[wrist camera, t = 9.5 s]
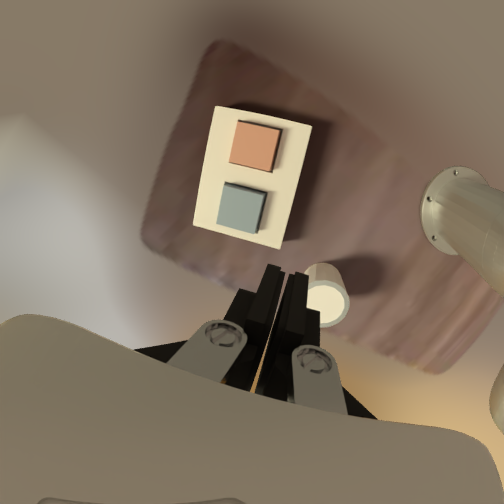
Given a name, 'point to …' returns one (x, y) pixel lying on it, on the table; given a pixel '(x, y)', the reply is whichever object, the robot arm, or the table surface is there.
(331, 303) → the shot glass
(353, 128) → the table surface
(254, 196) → the key slate
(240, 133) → the key terracotta
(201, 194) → the board
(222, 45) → the table surface
